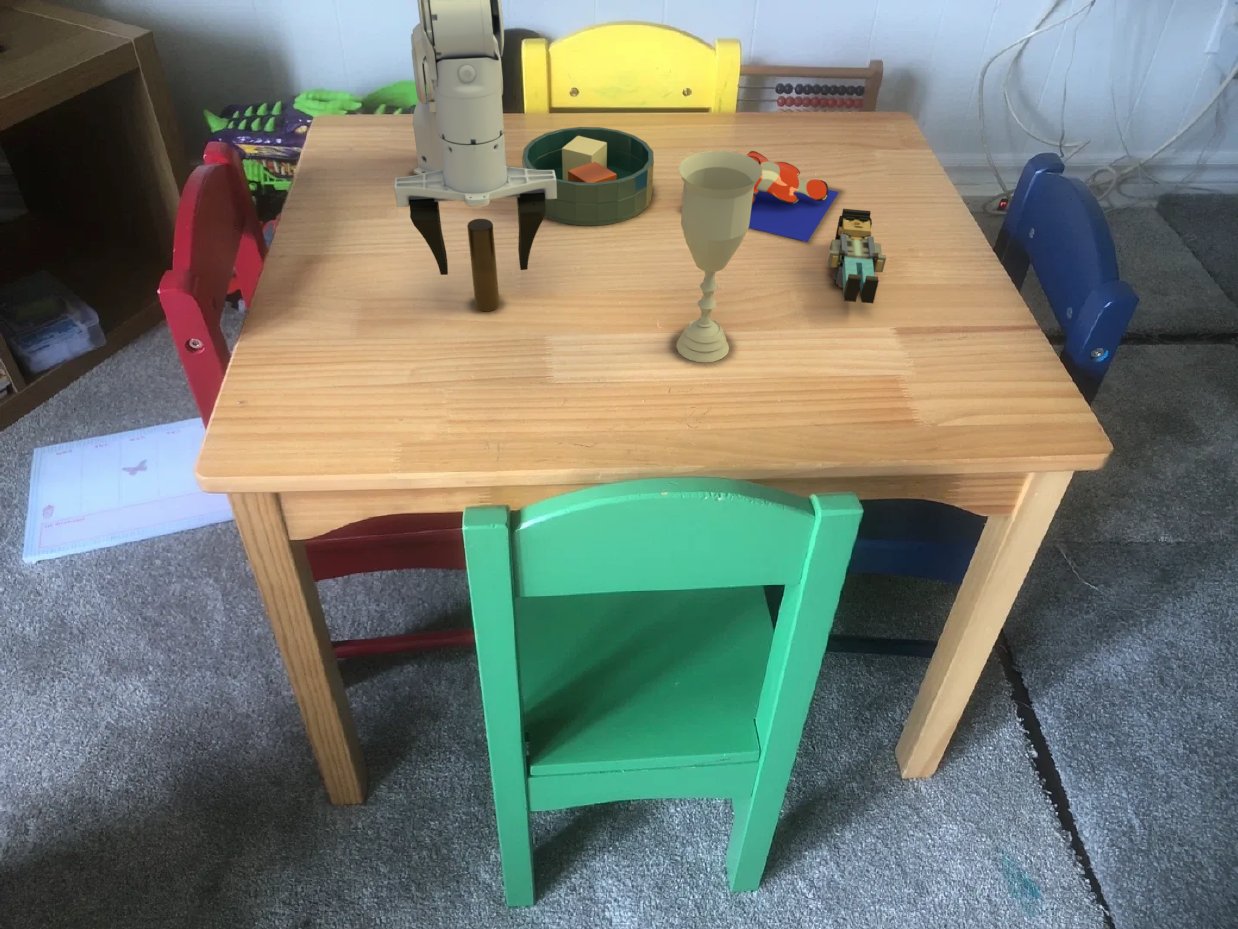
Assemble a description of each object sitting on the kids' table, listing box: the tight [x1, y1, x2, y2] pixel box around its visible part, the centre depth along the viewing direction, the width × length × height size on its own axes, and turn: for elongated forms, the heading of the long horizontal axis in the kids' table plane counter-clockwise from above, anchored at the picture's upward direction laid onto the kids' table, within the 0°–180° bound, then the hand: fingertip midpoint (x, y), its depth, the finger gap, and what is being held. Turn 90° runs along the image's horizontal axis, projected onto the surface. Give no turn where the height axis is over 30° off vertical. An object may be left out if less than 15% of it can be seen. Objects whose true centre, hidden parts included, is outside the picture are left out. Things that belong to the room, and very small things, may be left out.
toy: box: [827, 208, 887, 304], centre depth 96 cm, size 6×4×15 cm
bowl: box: [521, 126, 655, 227], centre depth 108 cm, size 15×15×5 cm
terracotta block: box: [568, 162, 617, 183], centre depth 106 cm, size 4×4×4 cm
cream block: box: [562, 136, 607, 181], centre depth 111 cm, size 4×4×4 cm
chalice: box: [676, 150, 762, 363], centre depth 82 cm, size 7×7×18 cm
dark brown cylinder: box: [466, 218, 500, 312], centre depth 89 cm, size 2×2×9 cm
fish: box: [745, 150, 830, 205], centre depth 107 cm, size 13×5×9 cm
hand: (483, 267), depth 89 cm, fingers open, 7 cm apart
